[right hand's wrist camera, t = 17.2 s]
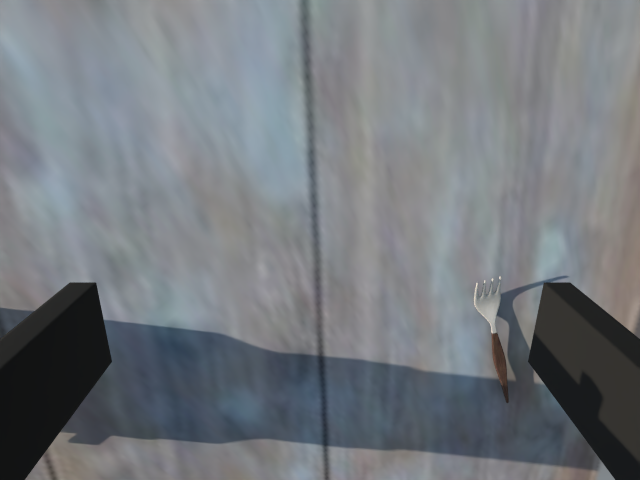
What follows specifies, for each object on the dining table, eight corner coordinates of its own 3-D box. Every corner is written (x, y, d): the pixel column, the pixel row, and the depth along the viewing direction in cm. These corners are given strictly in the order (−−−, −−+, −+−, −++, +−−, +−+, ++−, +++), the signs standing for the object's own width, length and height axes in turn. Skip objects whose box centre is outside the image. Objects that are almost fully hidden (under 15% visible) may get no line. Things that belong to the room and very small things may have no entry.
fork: (493, 402, 47) (500, 415, 45) (467, 274, 42) (474, 283, 40) (517, 396, 47) (525, 409, 45) (495, 267, 41) (503, 276, 39)
